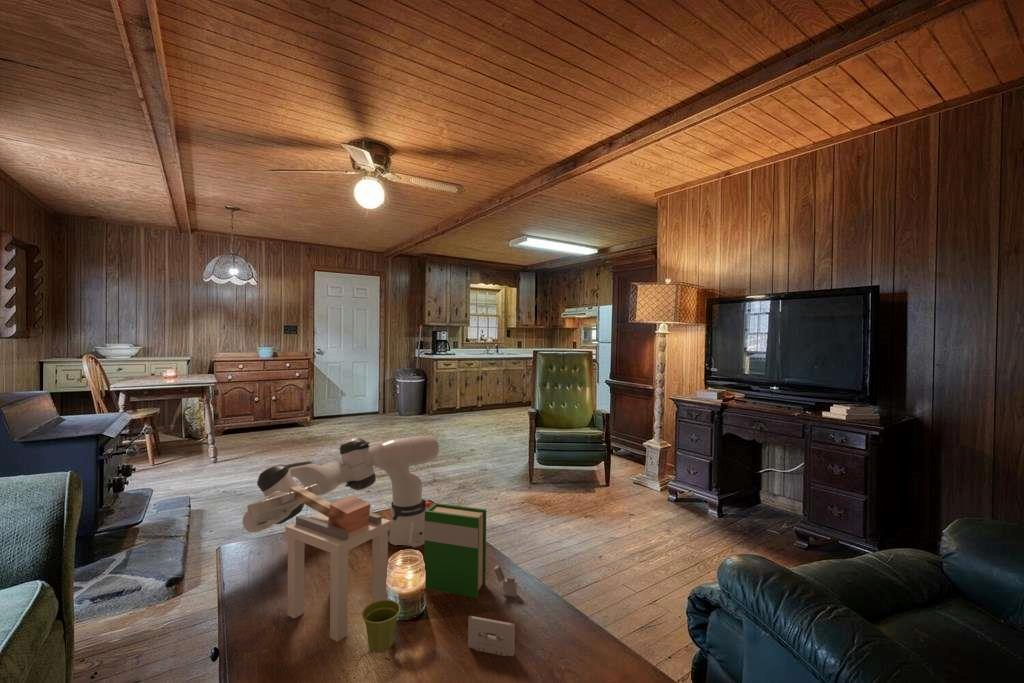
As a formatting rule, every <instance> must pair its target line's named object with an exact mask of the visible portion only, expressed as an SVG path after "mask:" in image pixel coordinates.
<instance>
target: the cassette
mask: <svg viewBox="0 0 1024 683" xmlns="http://www.w3.org/2000/svg"><path fill="white" fill-rule="evenodd" d="M467 620H468V623H467V626H468V627H467V630H468V631H467V636H468V637H467V639H468V640H467V647H468V648H469V649H474V651H479V652H484V653H489V654H493V655H499V656H503V657H506V656H509V657H514V656H515V645H516V644H515V642H516V640H515V639H516V638H515V635H516V634H515V632H516V627H515V626H516V625H515V624H514V622H513V623H511V622H507V621H501V620H496V619H491V618H484V617H479V616H474V615H473V616H472V615H470V616H468V619H467ZM491 634H492V635H491Z"/></svg>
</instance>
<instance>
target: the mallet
mask: <svg viewBox="0 0 1024 683" xmlns="http://www.w3.org/2000/svg"><path fill="white" fill-rule="evenodd" d="M304 488H305V487H301V486H300V485H297V484H296V486H293V487H290V490H289V493H291V492H294V491H296V492H297V493H296V494H297V497H296V498H295V499H296V500H298V501H300V502H302V503H304V506H305V505H306V506H307V507H309V508H311V509H312V510H315V511H316V512H317V513H322V514H323V515H325V516H327V517H329V520H328V524H329V525H332V526H335V527H338V528H341V529H344V530H346V531H348V533H350V532H352V531H355V530H357V529H359V528H361V527H363V526H365V525H368V522H369V514H370V513H371V503H370V502H368V501H366V500H364V499H361V498H360V497H357V496H356V495H352V496H350V497H346V498H344V499H340V500H339V501H336V502H335V503H334V502H332V503H333V504H332V503H331V502H330V501H328V500H326V499H324V498H323V497H321V496H320V495H318V496H317V495H315V494H313V493H311V492H309V491H307V490H306V489H304Z"/></svg>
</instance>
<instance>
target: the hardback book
mask: <svg viewBox="0 0 1024 683" xmlns="http://www.w3.org/2000/svg"><path fill="white" fill-rule="evenodd" d="M423 550H424V554H423V555H424V557H423V558H424V560H423V562H424V563H425V570H426V588H427V589H426V588H425V589H426V590H432V591H436V590H437V592H442V593H448V594H453V595H458V596H464V597H469V598H472V599H473V598H474V599H478V598H479V590H480V589H481V588H482V587H484V588H485V587H486V585H487V584H486V582H487V578H486V576H487V574H486V573H487V570H486V569H487V560H486V559H487V509H485V508H479V507H470V506H465V505H464V506H462V505H454V504H449V503H448V504H447V503H442V502H441V503H439V502H435V503H433V504H431V506H430V507H429V508H427V510H426V511H425V539H424V548H423ZM424 563H423V564H424Z"/></svg>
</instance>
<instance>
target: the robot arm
mask: <svg viewBox="0 0 1024 683" xmlns="http://www.w3.org/2000/svg"><path fill="white" fill-rule="evenodd" d="M370 443H371V442H369V441H366V440H365V439H363V438H360V437H359V438H357V437H353V438H349V439H347V440H345V441H344V442H343V443H342V444H340V446H339V454H340V455H341V460H342V462H340V461H336V460H335V461H331V462H329V461H328V462H326V463H322V464H321V465H320V464H317V463H314V462H313V461H300V462H294V463H288V464H277V465H272V466H270V467H268V468H266V469H265V470H264V471H261V472H260V474H259V476H258V478H257V482H256V485H257V487H258V488H259V490H260V491H261V492H262V493H263V495H264V498H262V499H259V500H257V501H255V502H252V503H249V504H248V505H247V506H246V509H247V510H246V512H245V513H244V515H243V516H242V525H243V527H244V528H243V529H245V530H246V531H247V532H249V533H253V534H255V533H259V532H263V531H265V530H268V529H269V528H271V527H272V526H274V525H282V524H284V523H285V522H287V521H289V520H291V519H292V518H294V517H297V515H298V514H300V513H301V512H302V511H303V509H304V506H305V504H304V503H302V502H300V501H298V500H296V499H295V498H296V497H297V494H296V493H297V492H296V491H294V492H291V493H289V490H290V487H293V486H296V485H297V483H296V482H295V480H294V478H296V479H297V480H298V481H299V482H300V483H301V484H302V486H303V488H304V489H306V490H307V491H309V492H311V493H313V494H315V495H317V496H323V495H327V494H329V493H330V492H332V491H334V490H335V489H337V487H339V486H341V485H342V484H343V483H346V484H345V487H348V488H350V489H351V490H354V491H364V490H367V489H368V488H370V487H372V485H374V484H375V483H376V480H377V479H376V478H377V477H376V473H375V469H374V467H375V468H379V469H381V471H382V470H383V471H384V472H385V473H386V475H388V477H389V479H390V482H391V488H392V502H391V508H390V516H391V529H390V530H389V532H388V543H389V544H392V545H393V546H397V545H409V546H412V547H411V548H418V547H421V546H423V545H424V539H425V511H426V510H427V509H428V508H430V507H431V506H432V504H431V502H429V501H428V500H425V499H424V498H423V483H422V480H421V478H420V477H419V476H417V475H415V474H413V473H411V472H410V467H412V466H417V465H424V464H427V463H429V462H432V461H433V460H436V459H437V457H438V455H439V453H440V452H439V451H440V446H439V442H438V440H437V439H436V438H435V436H433V435H425V434H424V435H423V434H421V435H414V436H407V437H400V438H394V439H388V440H385V441H382V442H379V443H377V444H375V445H372V446H371V445H370ZM409 546H408V547H409Z"/></svg>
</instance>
